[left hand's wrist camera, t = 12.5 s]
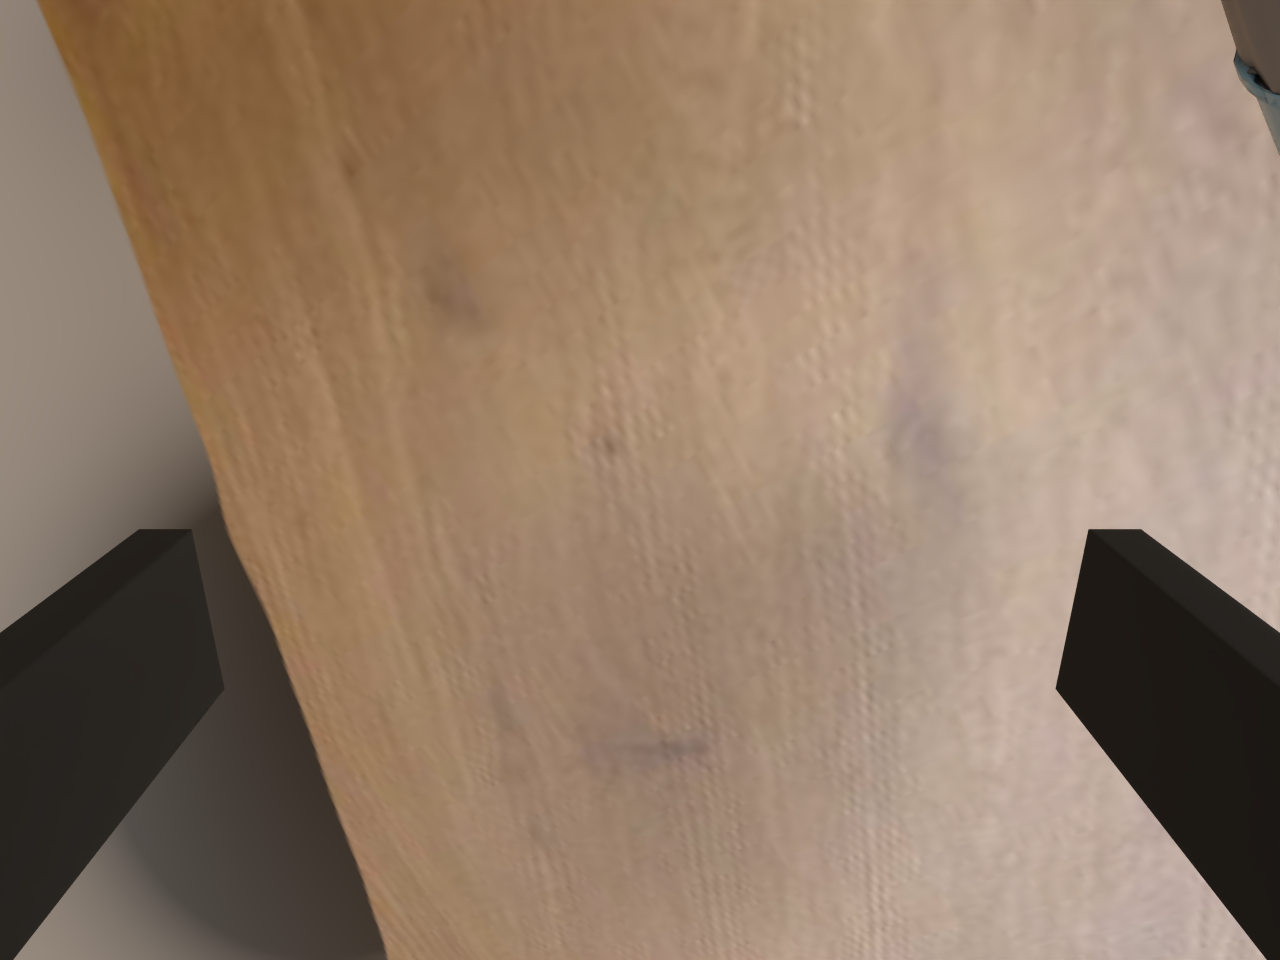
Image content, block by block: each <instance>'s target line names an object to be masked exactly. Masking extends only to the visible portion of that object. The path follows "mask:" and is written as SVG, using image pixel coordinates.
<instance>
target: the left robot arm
mask: <svg viewBox="0 0 1280 960" xmlns="http://www.w3.org/2000/svg"><path fill="white" fill-rule="evenodd" d="M1221 1H1222V4H1223V8H1224V11H1225V14H1226V17H1227V20H1228V23H1229V26H1230V30H1231V33H1232V36H1233V39H1234V42H1235V45H1236V54H1235V58H1234V65H1235V68H1236V71H1237V74H1238V76H1239V79H1240V81H1241V82H1242V83H1243V85H1244V86H1245V88H1246V89H1247V90H1248V91H1249V92H1250V93H1251V94H1253V95H1254V96H1255V97H1257V100H1258V102H1259V105H1260V107H1261V110H1262V112H1263V115H1264V117H1265V120H1266V122H1267V125H1268V127H1269V130H1270V133H1271V135H1272V138H1273V140H1274V143H1275V145H1276V148H1277V150H1278V153H1279V155H1280V0H1221ZM223 690H224V685H223V680H222V675H221V670H220V665H219V660H218V656H217V651H216V646H215V641H214V636H213V631H212V627H211V622H210V617H209V612H208V607H207V602H206V598H205V593H204V588H203V583H202V578H201V573H200V568H199V564H198V559H197V554H196V549H195V544H194V539H193V535H192V530H191V529H139V530H138V531H136V532H135V533H134V534H132V535H131V536H129V537H128V538H127V539H125V540H124V541H123V542H121V543H120V544H119V545H117V546H116V547H115V548H113V549H112V550H111V551H109V552H108V553H107V554H105V555H104V556H103V557H101V558H100V559H99V560H97V561H96V562H95V563H93V564H92V565H91V566H89V567H88V568H87V569H85V570H84V571H83V572H81V573H80V574H79V575H77V576H76V577H75V578H73V579H72V580H70V581H69V582H68V583H67V584H65V585H64V586H62V587H61V588H60V589H58V590H57V591H56V592H54V593H53V594H52V595H50V596H49V597H48V598H46V599H45V600H44V601H42V602H41V603H40V604H38V605H37V606H36V607H34V608H33V609H32V610H30V611H29V612H28V613H26V614H25V615H24V616H22V617H21V618H20V619H18V620H17V621H16V622H14V623H13V624H11V625H10V626H9V627H7V628H6V629H5V630H3V631H2V632H1V633H0V960H13V959H14V958H15V957H16V955H17V954H18V953H19V952H20V950H21V949H22V948H23V946H24V945H25V944H26V943H27V941H28V940H29V939H30V937H31V936H32V935H33V934H34V932H35V931H36V930H37V929H38V927H39V926H40V925H41V923H42V922H43V921H44V920H45V918H46V917H47V916H48V914H49V913H50V912H51V910H52V909H53V908H54V907H55V905H56V904H57V903H58V902H59V900H60V899H61V898H62V896H63V895H64V894H65V893H66V891H67V890H68V889H69V887H70V886H71V885H72V884H73V882H74V881H75V880H76V878H77V877H78V876H79V875H80V873H81V872H82V871H83V870H84V868H85V867H86V866H87V864H88V863H89V862H90V860H91V859H92V858H93V857H94V855H95V854H96V853H97V852H98V850H99V849H100V848H101V846H102V845H103V844H104V843H105V841H106V840H107V839H108V837H109V836H110V835H111V834H112V832H113V831H114V830H115V828H116V827H117V826H118V825H119V823H120V822H121V821H122V819H123V818H124V817H125V816H126V814H127V813H128V812H129V810H130V809H131V808H132V807H133V805H134V804H135V803H136V802H137V800H138V799H139V798H140V796H141V795H142V794H143V793H144V791H145V790H146V789H147V787H148V786H149V785H150V784H151V782H152V781H153V780H154V778H155V777H156V776H157V774H158V773H159V772H160V771H161V769H162V768H163V767H164V766H165V764H166V763H167V762H168V760H169V759H170V758H171V757H172V755H173V754H174V753H175V751H176V750H177V749H178V748H179V746H180V745H181V744H182V742H183V741H184V740H185V739H186V737H187V736H188V735H189V734H190V732H191V731H192V730H193V728H194V727H195V726H196V725H197V723H198V722H199V721H200V719H201V718H202V717H203V716H204V714H205V713H206V712H207V710H208V709H209V708H210V707H211V705H212V704H213V703H214V701H215V700H216V699H217V698H218V696H219V695H220V694H221V693H222V691H223ZM1056 690H1057V691H1058V693H1059V694H1060V695H1061V696H1062V698H1063V699H1064V700H1065V701H1066V703H1067V704H1068V705H1069V707H1070V708H1071V709H1072V710H1073V712H1074V713H1075V714H1076V716H1077V717H1078V718H1079V719H1080V721H1081V722H1082V723H1083V725H1084V726H1085V727H1086V728H1087V730H1088V731H1089V732H1090V734H1091V735H1092V736H1093V737H1094V739H1095V740H1096V741H1097V743H1098V744H1099V745H1100V746H1101V748H1102V749H1103V750H1104V752H1105V753H1106V754H1107V755H1108V757H1109V758H1110V759H1111V760H1112V762H1113V763H1114V764H1115V766H1116V767H1117V768H1118V769H1119V771H1120V772H1121V773H1122V775H1123V776H1124V777H1125V778H1126V780H1127V781H1128V782H1129V784H1130V785H1131V786H1132V787H1133V789H1134V790H1135V791H1136V793H1137V794H1138V795H1139V796H1140V798H1141V799H1142V800H1143V802H1144V803H1145V804H1146V805H1147V807H1148V808H1149V809H1150V811H1151V812H1152V813H1153V814H1154V816H1155V817H1156V818H1157V819H1158V821H1159V822H1160V823H1161V825H1162V826H1163V827H1164V828H1165V830H1166V831H1167V832H1168V834H1169V835H1170V836H1171V837H1172V839H1173V840H1174V841H1175V843H1176V844H1177V845H1178V846H1179V848H1180V849H1181V850H1182V852H1183V853H1184V854H1185V855H1186V857H1187V858H1188V859H1189V861H1190V862H1191V863H1192V864H1193V866H1194V867H1195V868H1196V870H1197V871H1198V872H1199V873H1200V875H1201V876H1202V877H1203V878H1204V880H1205V881H1206V882H1207V884H1208V885H1209V886H1210V887H1211V889H1212V890H1213V891H1214V893H1215V894H1216V895H1217V896H1218V898H1219V899H1220V900H1221V902H1222V903H1223V904H1224V905H1225V907H1226V908H1227V909H1228V911H1229V912H1230V913H1231V914H1232V916H1233V917H1234V918H1235V920H1236V921H1237V922H1238V923H1239V925H1240V926H1241V927H1242V929H1243V930H1244V931H1245V932H1246V934H1247V935H1248V936H1249V937H1250V939H1251V940H1252V941H1253V943H1254V944H1255V945H1256V946H1257V948H1258V949H1259V950H1260V952H1261V953H1262V954H1263V955H1264V957H1265V958H1266V959H1267V960H1280V633H1279V632H1278V631H1277V630H1275V629H1274V628H1273V627H1271V626H1270V625H1269V624H1267V623H1266V622H1264V621H1263V620H1262V619H1260V618H1259V617H1258V616H1256V615H1255V614H1254V613H1252V612H1251V611H1250V610H1248V609H1247V608H1246V607H1244V606H1243V605H1242V604H1240V603H1239V602H1238V601H1236V600H1235V599H1234V598H1232V597H1231V596H1230V595H1228V594H1227V593H1226V592H1224V591H1223V590H1222V589H1220V588H1219V587H1218V586H1216V585H1215V584H1214V583H1212V582H1211V581H1210V580H1208V579H1207V578H1205V577H1204V576H1203V575H1201V574H1200V573H1199V572H1197V571H1196V570H1195V569H1193V568H1192V567H1191V566H1189V565H1188V564H1187V563H1185V562H1184V561H1183V560H1181V559H1180V558H1179V557H1177V556H1176V555H1175V554H1173V553H1172V552H1171V551H1169V550H1168V549H1167V548H1165V547H1164V546H1163V545H1161V544H1160V543H1159V542H1157V541H1156V540H1155V539H1153V538H1152V537H1151V536H1149V535H1148V534H1147V533H1145V532H1144V531H1142V530H1141V529H1089V530H1088V535H1087V539H1086V544H1085V549H1084V554H1083V559H1082V564H1081V568H1080V573H1079V578H1078V583H1077V588H1076V593H1075V597H1074V602H1073V607H1072V612H1071V617H1070V622H1069V627H1068V631H1067V636H1066V641H1065V646H1064V651H1063V656H1062V660H1061V665H1060V670H1059V675H1058V680H1057V685H1056Z"/></svg>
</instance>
